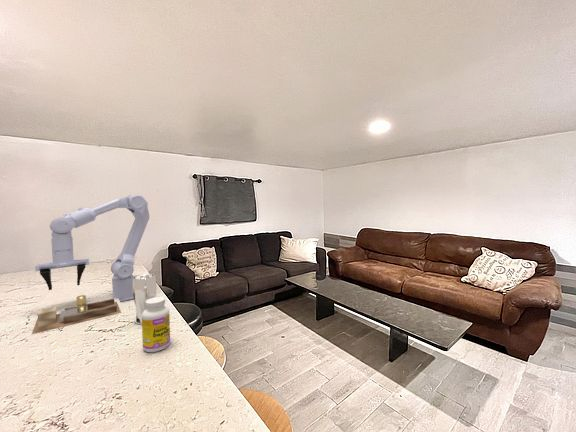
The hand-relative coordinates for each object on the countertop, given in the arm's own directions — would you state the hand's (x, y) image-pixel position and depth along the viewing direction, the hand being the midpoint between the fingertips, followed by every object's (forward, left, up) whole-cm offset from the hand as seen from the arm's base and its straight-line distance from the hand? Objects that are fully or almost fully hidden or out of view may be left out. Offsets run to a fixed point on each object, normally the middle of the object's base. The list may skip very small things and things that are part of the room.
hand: (64, 287), depth 92 cm
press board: (-4, +12, -9) cm, 16 cm away
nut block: (+4, +12, -8) cm, 15 cm away
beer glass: (-21, +28, -10) cm, 36 cm away
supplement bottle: (-20, +48, -10) cm, 53 cm away
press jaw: (-3, +12, -8) cm, 14 cm away
